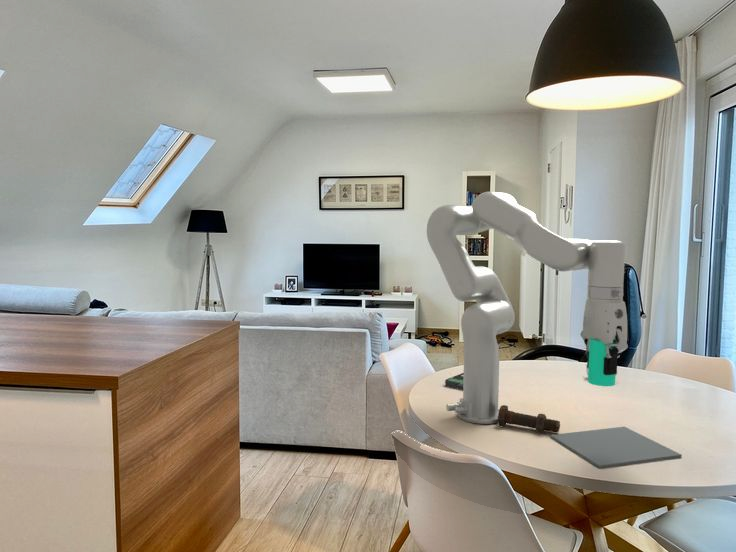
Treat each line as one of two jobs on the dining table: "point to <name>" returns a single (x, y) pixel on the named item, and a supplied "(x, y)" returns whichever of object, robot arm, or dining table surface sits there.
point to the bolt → (527, 420)
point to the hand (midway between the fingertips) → (601, 370)
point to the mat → (614, 447)
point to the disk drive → (455, 381)
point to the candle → (598, 365)
